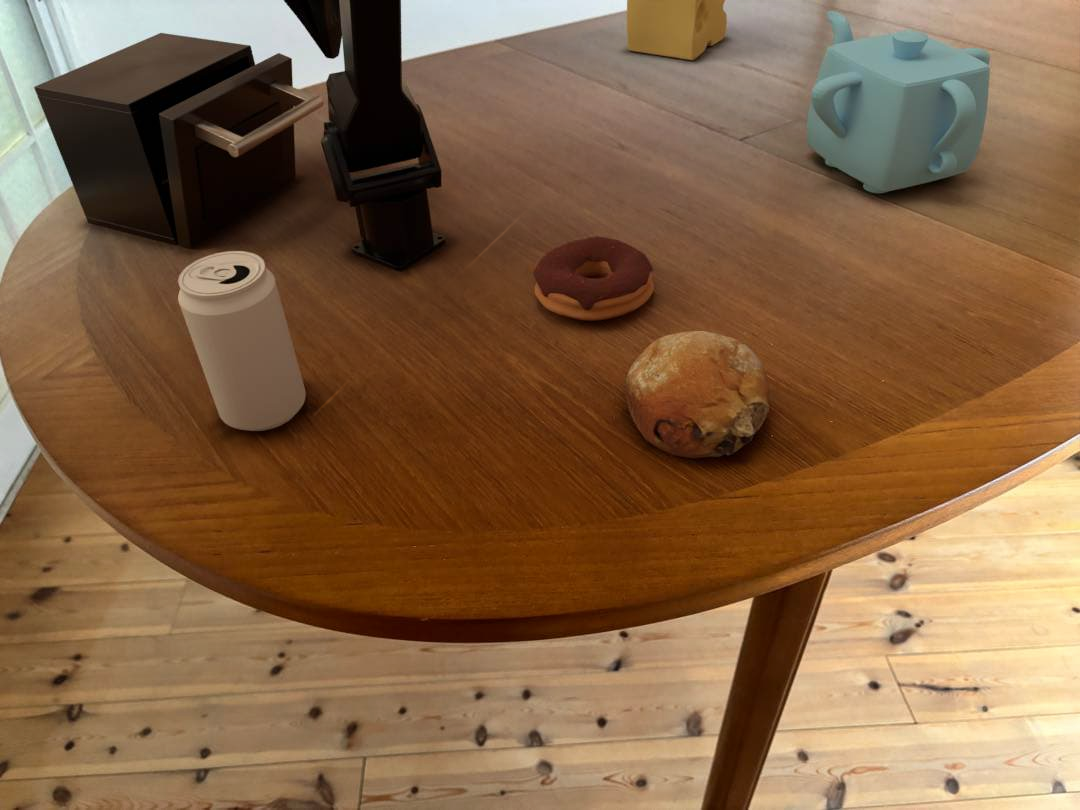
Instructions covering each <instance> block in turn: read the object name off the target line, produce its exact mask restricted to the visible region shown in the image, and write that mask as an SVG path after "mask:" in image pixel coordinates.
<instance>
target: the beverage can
mask: <svg viewBox="0 0 1080 810" xmlns="http://www.w3.org/2000/svg"><path fill="white" fill-rule="evenodd" d="M177 279H178V280H177V282H178V283H177V284H178V286H179V292H178V295H177V301H178V304H179V308H180V310H181V312H182V315H183V318H184V321H185V323H186V326H187V329H188V332H189V335H190V337H191V340H192V343H193V346H194V349H195V352H196V354H197V357H198V360H199V363H200V366H201V368H202V371H203V374H204V377H205V379H206V383H207V386H208V388H209V391H210V393H211V396H212V399H213V403H214V405H215V407H216V410H217V413H218V416H219V418H220V419H221V421H222V422H223V423H224V424H226V425H227V426H229V427H231V428H234V429H236V430H241V431H248V432H249V431H250V432H262V431H267V430H268V431H269V430H273V429H276V428H278V427H281V426H282V425H284V424H286V423H288V422H289V421H291V420H292V419H293V418H294V417H295V415H297V413H299V411H300V410H301V409H302V407H303V406H304V404H305V402H306V398H307V397H306V396H307V393H306V392H307V391H306V388H305V385H304V381H303V377H302V374H301V369H300V366H299V363H298V358H297V355H296V350H295V348H294V343H293V340H292V337H291V333H290V329H289V326H288V322H287V318H286V315H285V311H284V307H283V303H282V300H281V296H280V293H279V290H278V285H277V282H276V279H275V276H274V274H273V272H272V271H271V270H269V269H268V268H267V267H266V262H265V260H264V259H263V258H262V257H261V256H259V254H256V253H253V252H249V251H244V250H228V251H222V252H216V253H212V254H210V255H207V256H204V257H201V258H198V259H197V260H195V261H192V263H190V264H188V265H187V266H185V268H183V270H182V271H181V272H180V274H179V275H178V278H177Z"/></svg>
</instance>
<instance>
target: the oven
mask: <svg viewBox="0 0 1080 810" xmlns="http://www.w3.org/2000/svg"><path fill="white" fill-rule="evenodd" d="M254 65H256V61H255V57H254V54H253V50H252V46H251V45H249V44H244V43H236V42H229V41H228V42H227V41H222V40H214V39H208V38H207V39H206V38H200V37H193V36H187V35H180V34H173V33H165V32H159V33H157V34H154V35H153V36H150V37H148V38H145V39H143V40H141V41H138V42H135V43H133V44H131V45H129V46H126V47H125V48H122V49H119V50H117V51H115V52H113V53H110V54H108V55H105V56H103V57H101V58H99V59H96V60H94V61H91V62H89V63H86V64H84V65H81V66H79V67H77V68H74V69H73V70H71V71H68V72H65V73H63V74H61V75H58V76H56V77H54V78H51V79H48V80H47V81H44V82H42V83H40V84H37V85H35V86H33V88H34V91H35V93H36V96H37V99H38V101H39V104H40V106H41V109H42V111H43V114H44V116H45V119H46V121H47V124H48V126H49V129H50V131H51V133H52V136H53V139H54V142H55V144H56V146H57V148H58V151H59V154H60V156H61V159H62V161H63V164H64V166H65V169H66V171H67V174H68V176H69V179H70V181H71V184H72V186H73V189H74V192H75V193H76V196H77V198H78V201H79V203H80V206H81V209H82V211H83V214H84V216H85V219H86V222H87V224H90V225H94V226H98V227H102V228H106V229H110V230H114V231H117V232H121V233H126V234H129V235H133V236H136V237H141V238H144V239H148V240H152V241H153V240H154V241H156V242H159V243H164V244H167V245H172V246H178V245H179V244H178V240H177V234H176V227H175V220H174V213H173V207H172V200H171V193H170V186H169V179H168V173H167V166H166V159H165V152H164V145H163V139H162V132H161V125H160V118H159V113H161V112H163V111H165V110H167V109H169V108H171V107H173V106H175V105H177V104H179V103H181V102H183V101H185V100H187V99H189V98H191V97H193V96H195V95H197V94H199V93H201V92H203V91H205V90H207V89H209V88H210V87H212V86H214V85H216V84H218V83H220V82H222V81H224V80H226V79H228V78H230V77H232V76H234V75H236V74H238V73H240V72H242V71H244V70H246V69H248V68H250V67H252V66H254Z"/></svg>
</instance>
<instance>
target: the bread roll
mask: <svg viewBox="0 0 1080 810" xmlns="http://www.w3.org/2000/svg"><path fill="white" fill-rule="evenodd" d="M768 381H769V380H768V376H767V372H766V369H765V367H764V365H763V362H761V360H760V358H759V357H758V356H757V355H756V353H755V351H754V350H753V349H751V348H750V347H749V346H748V345H746V344H744V343H743V342H740V341H739V340H738V339H735V338H733V337H730V336H725V335H724V334H719V333H715V332H709V331H705V330H690V331H680V332H676V333H670V334H667V335H665V336H661V337H659V338H657V339H656V340H654V341H653V342H652V343H651V344H649V345H648V346H647V347H646V348H645V349H644V350H643V351H642V353H640V354H639V356H638V357H637V359H635V360H634V362H633V363H632V364H631V366H630V368H629V370H628V373H627V376H626V381H625V386H626V395H625V396H626V398H625V399H626V405H627V407H628V411H629V414H630V417H631V419H632V421H633V423H634V424H635V425H636V429H638V431H639V432H640V434H641V435H642V436H643V438H644V439H645V440H646V441H647V442H648V443H650V444H651V445H653V446H655V447H656V448H658V449H659V450H661V451H664V452H666V453H667V454H669V455H672V456H676V457H680V458H687V459H688V458H689V459H698V458H699V459H702V458H720V457H722V456H723V455H726V456H730V455H733V454H735V453H736V452H738V451H739V450H740V449H741V448H742V447H743V446H745V445H747V444H749V443H751V442H752V440H753V438H754V435H755V434H756V433H757V432H758V431H759V430H760V429H761V427H762V425H763V423H764V421H765V420H766V418H767V415H768V413H769V412H770V402H769V398H770V387H769V382H768Z"/></svg>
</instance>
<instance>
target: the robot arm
mask: <svg viewBox="0 0 1080 810" xmlns="http://www.w3.org/2000/svg"><path fill="white" fill-rule="evenodd" d="M283 2H284V3H285V4H286V6H287V7H288V8H289V9H290V11H292V13H293V14H294V15H295V17H296V18H297V19H298V20H299V22H300V23H301V24H302V26H303V27H304V29H305V30H306V32H307V33H308V34H309V36H310V37H311V39H312V40H313V41H314V43H315V45H316V46H317V47H318V49H319V50H320V51H321V53H322V54H323V56H324V57H325V58H326V59H330V60H334V59H336V58H338V57H339V56H340V50H341V45H342V52H343V62H344V65H343V66H344V70H343V71H338V72H332V73H329V74H328V76H327V79H326V82H325V84H326V92H327V108H328V110H327V111H328V121H324V122H323V136H322V138H321V140H320V145H321V147H322V151H323V155H324V157H325V161H326V164H327V167H328V171H329V174H330V178H331V181H332V186H333V190H334V196H335V199H336V200H337V201H338V202H341V203H342V202H344V203H347V204H348V206H349V208H351V209H352V208H355V213H356V218H357V219H356V220H357V224H358V229H359V235H360V238H362V240H361V241H359V242H357V243H355V244H353V245H352V246H351V253H352V254H353V255H356V256H359V257H362V258H364V259H366V260H369V261H371V262H374V263H377V264H380V265H382V266H385V267H386V268H390V269H393V270H395V271H403V270H405V269H407V268H409V267H411V266H412V265H414V264H415V263H416V262H418V261H420V260H421V259H422V258H424V257H426V256H427V255H429V254H430V253H432V252H434V251H435V250H437V249H438V248H439V247H441V246H443V245H444V244H446V243H447V239H446V236H445V235H442V234H439V233H436V232H433V226H432V217H431V210H430V203H429V195H428V190H430V189H434V188H435V189H438V188H441V187H442V167H441V164H440V161H439V159H438V156H437V152H436V150H435V147H434V144H433V141H432V138H431V134H430V132H429V128H428V125H427V123H426V119H425V117H424V114H423V110H422V109H421V107H420V105H419V104H418V103H416V101H415V98H414V97H413V94H412V92H411V90H410V88H409V85H408V84H407V82H406V80H405V78H404V77H403V63H402V61H403V60H402V58H403V57H402V53H403V52H402V51H403V49H402V0H283ZM416 159H418V162H415V163H410V164H407V165H401V166H396V167H392V168H389V169H384V170H380V171H374V172H371V173H366V174H361V175H357V176H352V177H351V174H352V173H358V172H362V171H366V170H367V171H368V170H372V169H375V168H380V167H384V166H390V165H393V164H399V163H403V162H406V161H407V162H408V161H412V160H416ZM350 173H351V174H350Z"/></svg>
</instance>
